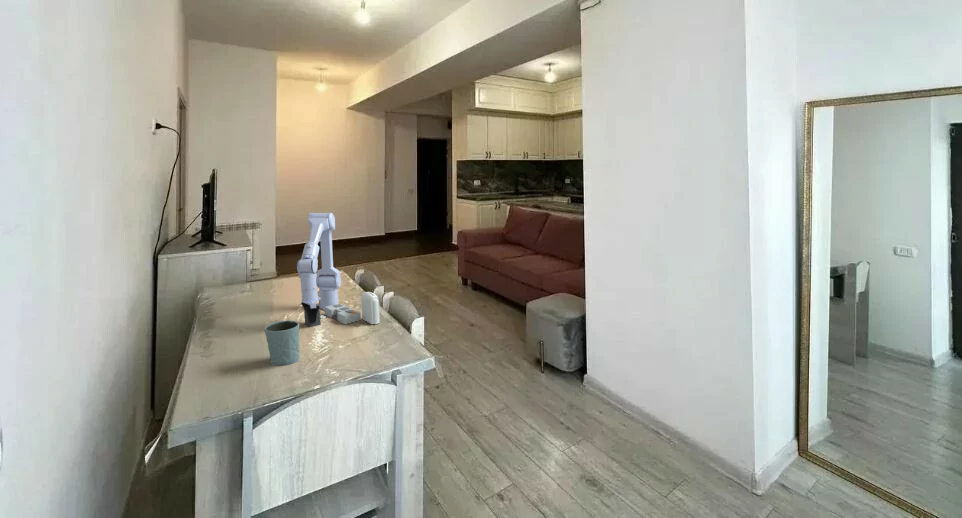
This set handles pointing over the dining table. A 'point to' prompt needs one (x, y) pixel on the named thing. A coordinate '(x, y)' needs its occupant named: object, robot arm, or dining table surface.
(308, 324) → the charger
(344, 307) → the power strip
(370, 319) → the photo printer
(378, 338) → the dining table surface
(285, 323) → the grey-green cup
